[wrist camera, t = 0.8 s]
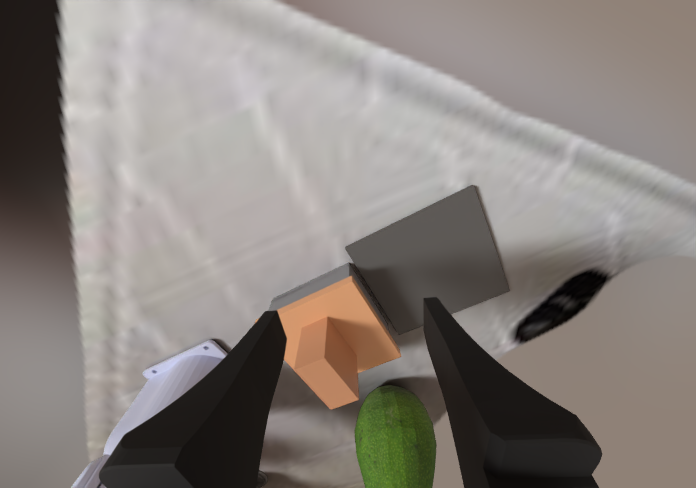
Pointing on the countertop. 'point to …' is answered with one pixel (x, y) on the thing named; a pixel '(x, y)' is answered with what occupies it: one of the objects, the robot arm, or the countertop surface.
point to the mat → (431, 260)
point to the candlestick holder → (261, 479)
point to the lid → (335, 340)
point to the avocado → (395, 440)
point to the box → (322, 283)
